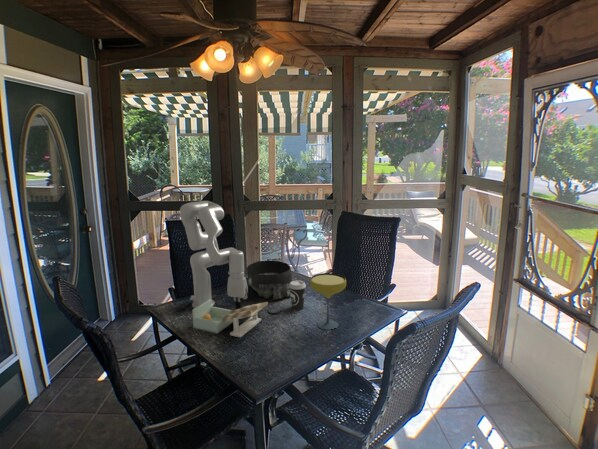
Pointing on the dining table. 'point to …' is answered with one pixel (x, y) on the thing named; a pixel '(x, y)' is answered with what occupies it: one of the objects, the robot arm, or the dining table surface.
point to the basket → (270, 278)
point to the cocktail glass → (328, 292)
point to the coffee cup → (297, 294)
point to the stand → (244, 326)
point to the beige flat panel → (244, 312)
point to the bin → (216, 318)
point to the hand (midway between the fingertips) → (238, 308)
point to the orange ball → (207, 317)
